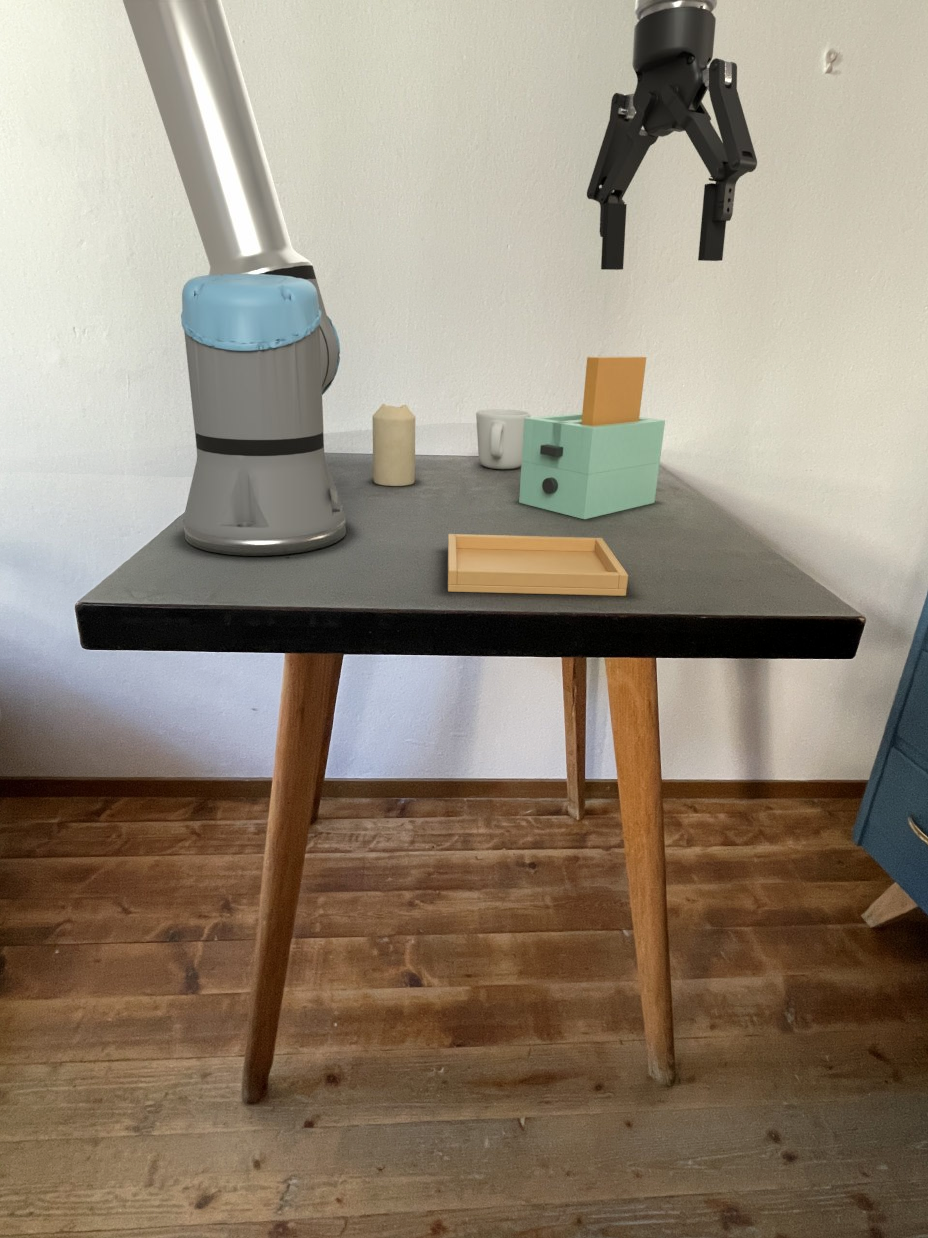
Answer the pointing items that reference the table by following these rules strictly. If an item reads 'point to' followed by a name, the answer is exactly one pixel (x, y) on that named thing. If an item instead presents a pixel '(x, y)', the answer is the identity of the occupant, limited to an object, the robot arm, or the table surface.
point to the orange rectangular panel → (613, 390)
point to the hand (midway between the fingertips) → (657, 265)
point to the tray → (533, 565)
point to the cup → (500, 437)
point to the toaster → (589, 464)
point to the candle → (393, 446)
